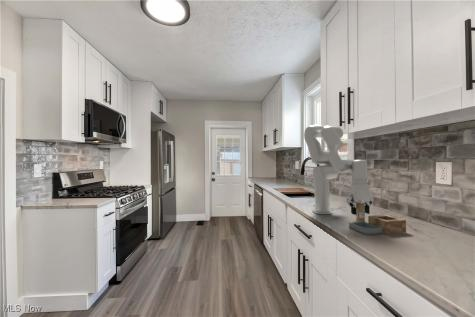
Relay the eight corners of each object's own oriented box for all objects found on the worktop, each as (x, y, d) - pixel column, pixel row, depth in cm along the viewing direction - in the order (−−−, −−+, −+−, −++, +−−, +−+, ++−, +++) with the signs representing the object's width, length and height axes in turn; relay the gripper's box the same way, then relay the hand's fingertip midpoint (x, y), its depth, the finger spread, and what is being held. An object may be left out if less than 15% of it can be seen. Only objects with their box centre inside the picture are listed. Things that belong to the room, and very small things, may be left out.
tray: (349, 227, 115) (348, 222, 115) (364, 226, 117) (364, 221, 117) (366, 234, 103) (366, 229, 103) (382, 233, 105) (382, 228, 105)
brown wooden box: (368, 227, 114) (368, 215, 114) (386, 226, 116) (386, 214, 116) (386, 234, 103) (386, 221, 104) (406, 232, 105) (405, 220, 106)
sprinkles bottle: (364, 225, 119) (363, 200, 119) (354, 223, 122) (354, 199, 122) (366, 223, 122) (365, 198, 122) (357, 221, 125) (356, 198, 125)
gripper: (368, 180, 127) (368, 211, 127) (341, 181, 124) (341, 213, 124) (378, 182, 120) (379, 214, 120) (350, 183, 117) (351, 216, 117)
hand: (360, 213), depth 122 cm, fingers open, 7 cm apart
